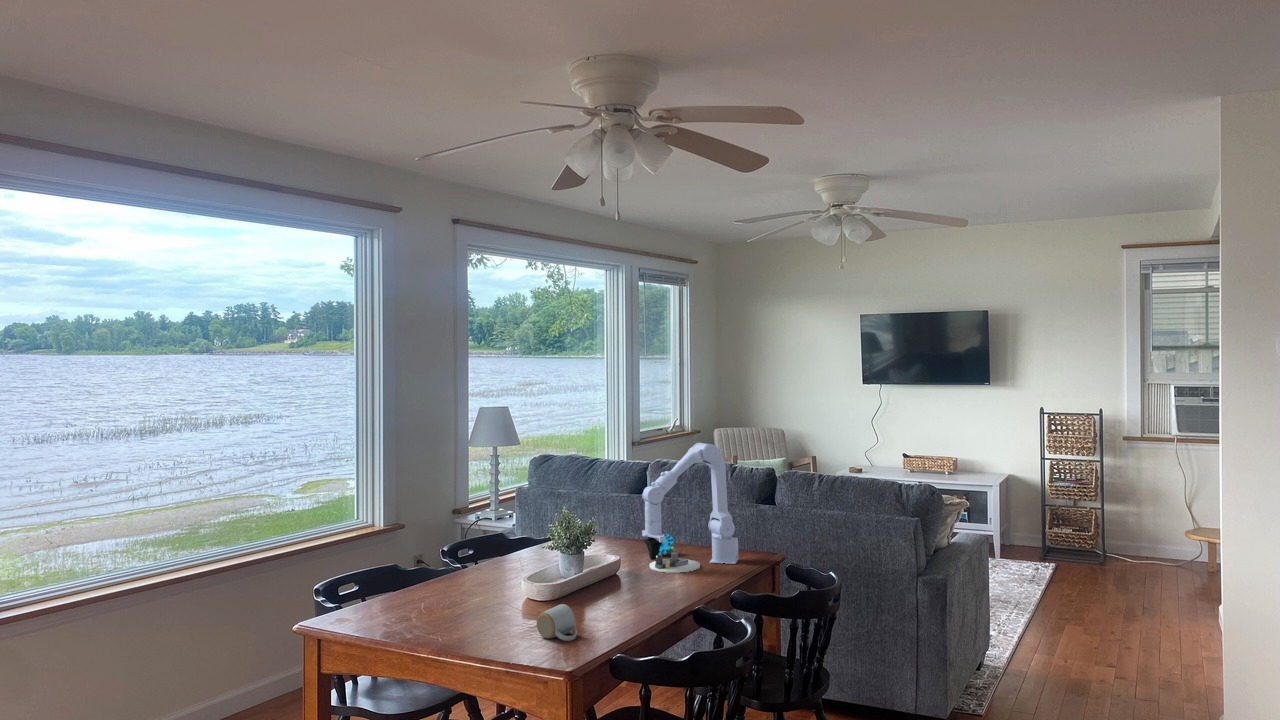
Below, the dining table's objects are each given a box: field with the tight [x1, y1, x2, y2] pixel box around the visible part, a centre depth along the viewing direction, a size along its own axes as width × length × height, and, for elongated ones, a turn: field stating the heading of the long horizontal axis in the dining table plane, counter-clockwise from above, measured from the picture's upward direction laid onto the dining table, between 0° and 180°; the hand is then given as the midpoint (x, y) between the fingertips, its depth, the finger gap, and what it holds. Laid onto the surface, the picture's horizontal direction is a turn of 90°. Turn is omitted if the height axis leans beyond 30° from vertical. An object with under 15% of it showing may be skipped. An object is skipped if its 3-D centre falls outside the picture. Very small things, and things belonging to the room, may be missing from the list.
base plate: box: [649, 551, 701, 574], centre depth 310 cm, size 18×18×5 cm
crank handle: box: [655, 554, 689, 569], centre depth 308 cm, size 13×7×4 cm, turn 135°
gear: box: [658, 533, 676, 556], centre depth 331 cm, size 11×6×10 cm
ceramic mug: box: [536, 603, 578, 642], centre depth 232 cm, size 11×8×8 cm
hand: (653, 559), depth 307 cm, fingers closed
